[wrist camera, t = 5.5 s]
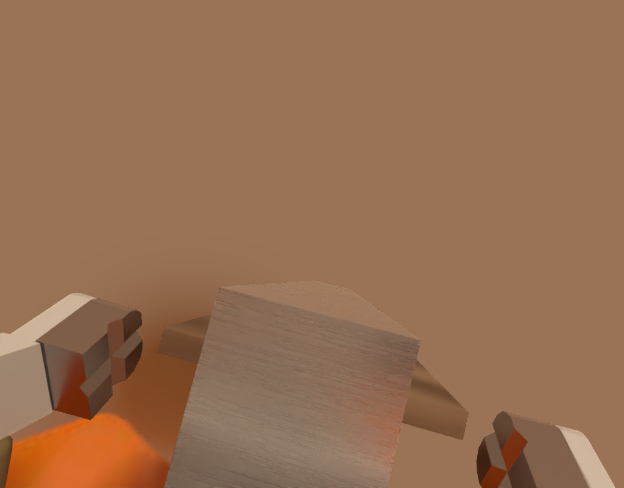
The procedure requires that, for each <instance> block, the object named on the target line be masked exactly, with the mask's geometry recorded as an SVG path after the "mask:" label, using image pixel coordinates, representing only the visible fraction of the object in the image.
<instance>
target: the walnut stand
mask: <svg viewBox="0 0 624 488" xmlns="http://www.w3.org/2000/svg"><path fill="white" fill-rule="evenodd" d="M210 318H211V315H207V316H203V317H200V318H196V319H192V320H189V321H185V322H182V323H178V324H175V325H171V326H167V327H164V330H163V334H162V337H161V340H160V344H159V347H158V351H157V352H158V353H161V354H165V355H168V356H172V357H175V358H179V359H183V360H186V361H189V362H193V363H196V364H198V362H199V358H200V354H201V351H202V347H203V343H204V340H205V336H206V332H207V329H208V325H209V322H210ZM467 418H468V412H467V411H466V410H465V409H464V408H463V406H461V404H460V403H459V402H458V401H457V400H456V399H455V398H454V397H453V396H452V395H451V394H450V393H449V392H448V391H447V390H446V389H445V388H444V387H443V386H442V385H441V384H440V383H439V382H438V381H437V380H436V379H435V378H434V377H433V376H432V375H431V374H430V373H429V372H428V371H427V370H426V369H425V368H424V367H423V366H422V365H421V364H420V363H419V362H418V361H417V360H416V363H415V368H414V372H413V376H412V381H411V385H410V390H409V394H408V398H407V403H406V407H405V412H404V416H403V420H402V423H405V424H409V425H412V426H415V427H419V428H422V429H426V430H429V431H433V432H436V433H440V434H443V435H447V436H450V437H454V438H457V439H461V440H463V436H464V432H465V427H466V422H467Z"/></svg>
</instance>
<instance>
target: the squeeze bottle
mask: <svg viewBox="0 0 624 488" xmlns="http://www.w3.org/2000/svg"><path fill="white" fill-rule="evenodd" d="M11 452H12V438H11V437H10V436H7V437H5V438H3V439H1V440H0V488H5V485H6V479H7V474H8V469H9V463H10V458H11Z"/></svg>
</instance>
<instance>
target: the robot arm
mask: <svg viewBox="0 0 624 488" xmlns="http://www.w3.org/2000/svg"><path fill="white" fill-rule="evenodd" d="M141 325H142V319H141V313H140V312H139V311H137V310H135V309H132V308H129V307H125V306H122V305H119V304H115V303H112V302H109V301H106V300H102V299H99V298H94V297H90V296H88V295H84V294H81V293H74V294H70V295H68V296H67V297H65V298H64V299H62V300H61V301H59V302H58V303H56V304H55V305H54V306H52V307H50V308H49V309H47V310H46V311H44V312H43V313H42V314H40V315H38V316H37V317H35V318H34V319H32V320H31V321H30V322H28V323H26V324H25V325H23V326H22V327H20V328H19V329H17V330H16V331H14V332H13V333H11V334H6V333H0V440H1V439H3V438H5V437H7V436H9V435H10V434H12V433H14V432H16V431H18V430H20V429H22V428H24V427H25V426H27V425H29V424H31V423H33V422H35V421H37V420H39V419H41V418H43V417H44V416H46V415H48V414H50V413H52V410H55V411H59V412H63V413H66V414H70V415H74V416H77V417H81V418H84V419H88V420H91V419H92V418H93V417H94V416H95V415H96V414H97V412H98V411H99V410H100V409H101V408H102V407H103V406H104V404H105V403H106V402H107V401H108V400H109V399H110V398H111V396H112V395H113V385H116V384H118V383H120V382H122V381H125V380H126V379H127V378H128V377H129V376H130V375H131V373H132V372H133V371H134V369H135V367H136V365H137V363H138V361H139V360H140V357H141V352H142V339H141V337H140V336H139V335H138V333H137V331H136V330H137V329H138V328H139V327H140V326H141ZM493 427H494V430H495V433H493V434H490V435H488V436H486V437H484V439H483V441H482V443H481V445H480V446H479V449H478V455H477V474H478V479H479V483H480V486H481V487H482V488H615V486H614V485H613V483H612V481H611V479H610V478H609V476H608V474H607V473H606V471H605V469H604V467H603V465H602V464H601V462H600V460H599V458H598V456H597V455H596V453H595V451H594V450H593V448H592V446H591V444H590V442H589V441H588V439H587V437H586V436H584V435H583V434H582V433H581V432H580V431H576V430H573V429H569V428H565V427H562V426H558V425H551V424H549V423H545V422H542V421H537V420H534V419H530V418H527V417H523V416H519V415H515V414H512V413H508V412H504V411H502V412H501V413H499V414H498V415H497V416H496V418H495V420H494V421H493Z"/></svg>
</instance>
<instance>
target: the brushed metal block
mask: <svg viewBox="0 0 624 488" xmlns="http://www.w3.org/2000/svg"><path fill="white" fill-rule="evenodd" d="M420 341H421V340H419V339H418V338H417V337H415V336H414V335H413V334H411V333H410V332H408V331H407V330H406V329H404V328H403V327H402V326H400V325H399V324H398V323H396V322H395V321H394V320H392V319H391V318H389V317H388V316H387V315H385V314H384V313H382V312H381V311H380V310H378V309H377V308H376V307H374V306H373V305H372V304H370V303H369V302H368V301H366V300H365V299H364V298H362V297H361V296H359V295H358V294H357V293H355V292H354V291H352V290H351V289H348V288H344V287H340V286H336V285H333V284H329V283H325V282H321V281H317V280H315V281H300V282H285V283H271V284H270V283H269V284H255V285H240V286H224V287H219V289H218V292H217V296H216V300H215V303H214V307H213V311H212V314H211V318H210V322H209V325H208V329H207V332H206V336H205V340H204V343H203V347H202V351H201V354H200V358H199V362H198V365H197V369H196V373H195V376H194V380H193V384H192V388H191V391H190V395H189V398H188V402H187V406H186V409H185V413H184V417H183V420H182V424H181V428H180V431H179V435H178V439H177V442H176V446H175V450H174V453H173V457H172V461H171V464H170V468H169V471H168V475H167V479H166V482H165V486H164V488H387V486H388V481H389V477H390V473H391V468H392V464H393V459H394V455H395V451H396V446H397V442H398V437H399V433H400V429H401V425H402V420H403V416H404V412H405V407H406V403H407V398H408V394H409V390H410V385H411V381H412V376H413V372H414V368H415V363H416V359H417V354H418V350H419V346H420Z"/></svg>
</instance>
